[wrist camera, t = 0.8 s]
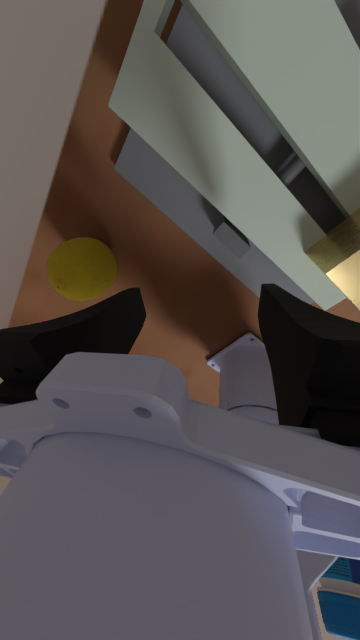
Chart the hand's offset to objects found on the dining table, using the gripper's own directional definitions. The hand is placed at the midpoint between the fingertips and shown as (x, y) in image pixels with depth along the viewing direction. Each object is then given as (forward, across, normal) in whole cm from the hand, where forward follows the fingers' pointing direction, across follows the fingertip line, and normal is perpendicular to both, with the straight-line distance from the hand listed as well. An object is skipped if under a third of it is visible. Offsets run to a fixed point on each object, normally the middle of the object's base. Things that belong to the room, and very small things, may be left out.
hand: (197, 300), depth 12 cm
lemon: (+10, +12, 0) cm, 15 cm away
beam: (+8, -6, -6) cm, 11 cm away
